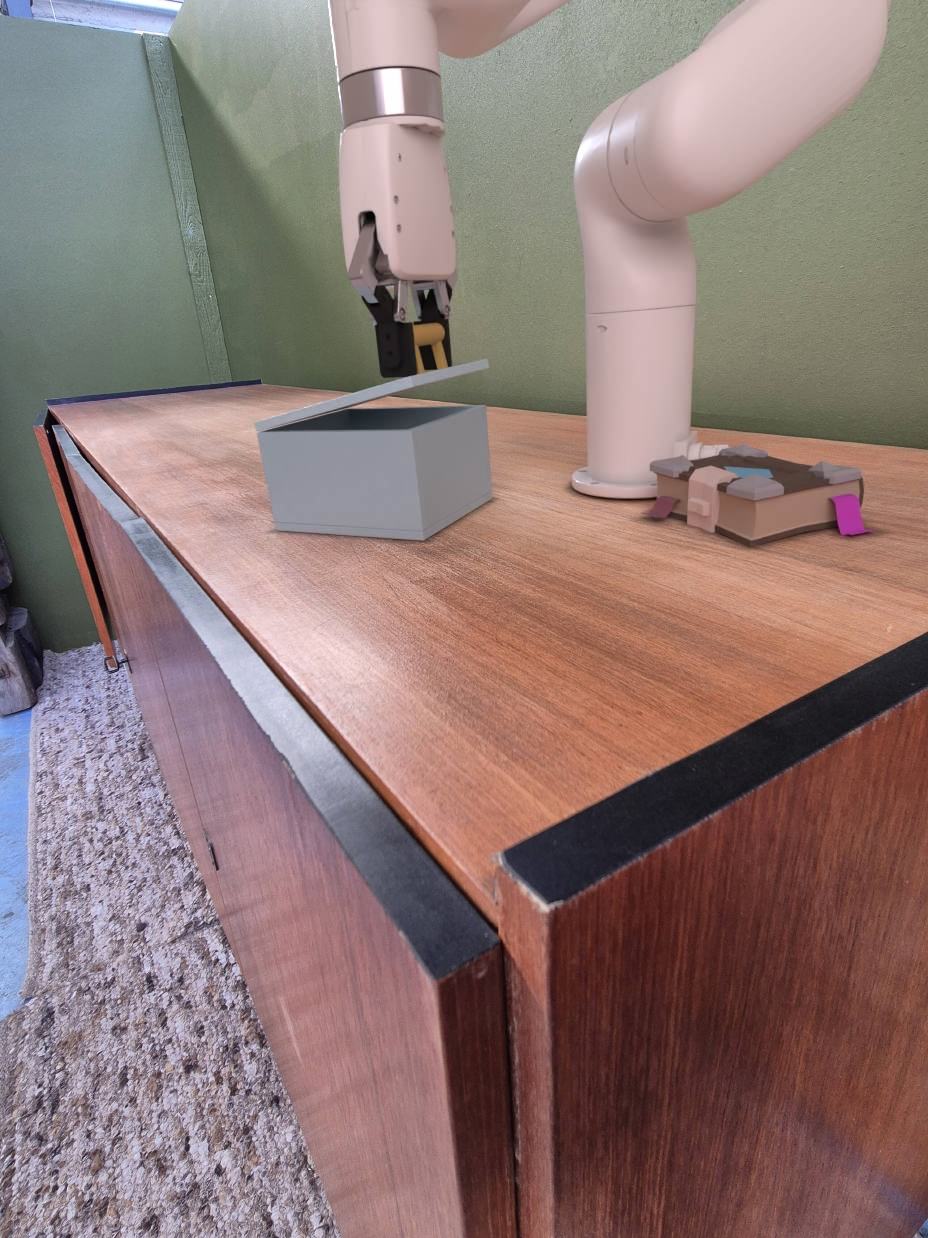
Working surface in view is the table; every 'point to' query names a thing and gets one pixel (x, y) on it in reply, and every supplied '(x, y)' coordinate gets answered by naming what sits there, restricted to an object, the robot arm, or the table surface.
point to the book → (758, 495)
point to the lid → (422, 336)
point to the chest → (378, 470)
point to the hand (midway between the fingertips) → (417, 370)
